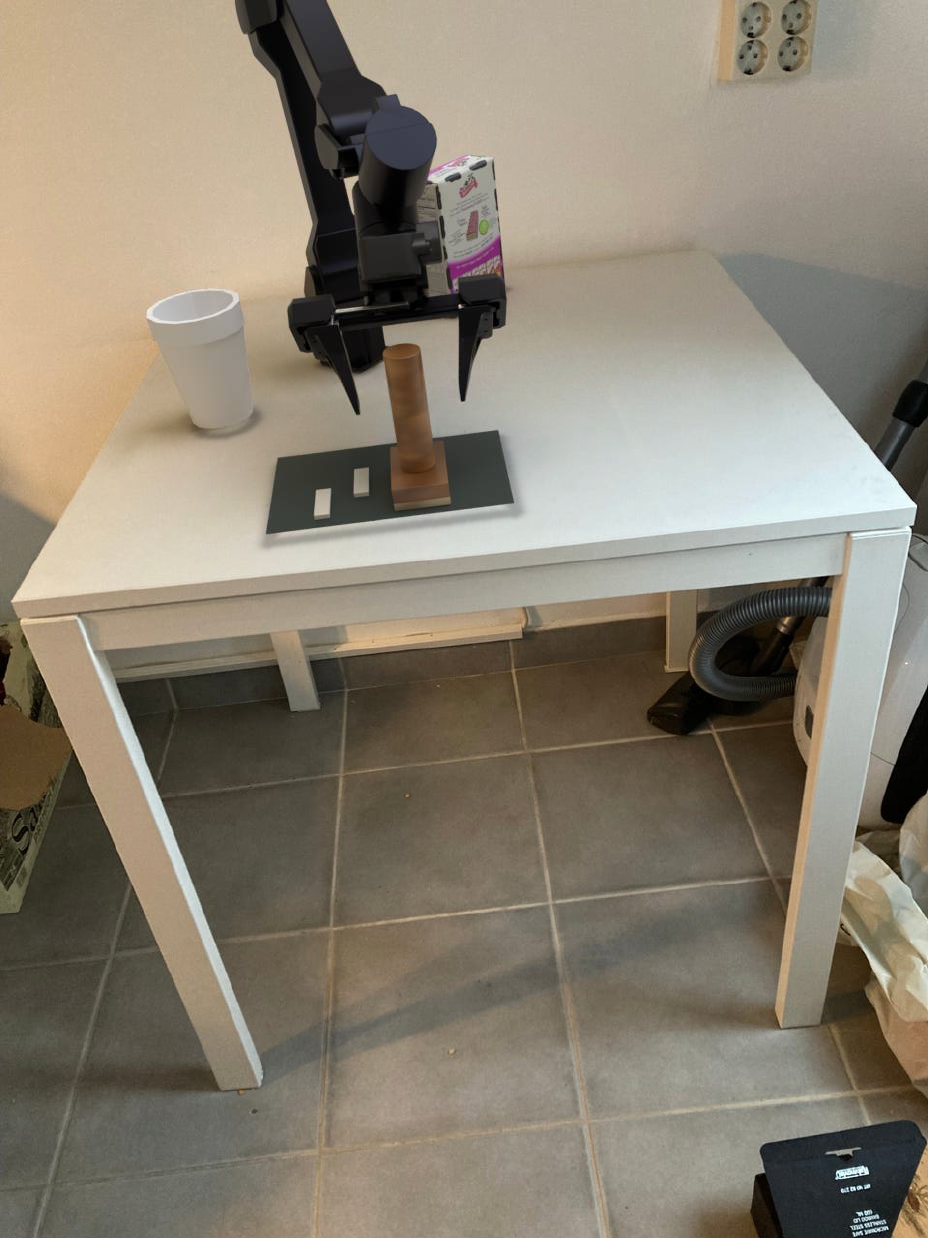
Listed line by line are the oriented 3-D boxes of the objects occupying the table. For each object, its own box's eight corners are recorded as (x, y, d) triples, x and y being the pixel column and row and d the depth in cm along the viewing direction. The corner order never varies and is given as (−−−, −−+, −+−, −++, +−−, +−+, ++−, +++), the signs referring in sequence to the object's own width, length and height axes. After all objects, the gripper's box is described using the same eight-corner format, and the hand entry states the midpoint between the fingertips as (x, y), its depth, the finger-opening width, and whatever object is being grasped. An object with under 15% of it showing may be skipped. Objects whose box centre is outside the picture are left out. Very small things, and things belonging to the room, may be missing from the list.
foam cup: (194, 452, 102) (157, 331, 94) (172, 419, 109) (136, 304, 101) (280, 424, 105) (251, 305, 97) (253, 395, 112) (224, 281, 104)
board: (267, 543, 87) (265, 534, 86) (279, 466, 98) (277, 457, 97) (515, 512, 87) (514, 502, 86) (498, 438, 98) (498, 429, 97)
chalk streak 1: (314, 520, 87) (313, 515, 87) (316, 494, 91) (315, 489, 90) (330, 518, 87) (329, 513, 87) (332, 492, 91) (331, 487, 90)
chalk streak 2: (354, 498, 90) (353, 493, 89) (354, 473, 93) (354, 468, 93) (369, 496, 90) (368, 491, 89) (369, 471, 93) (368, 467, 93)
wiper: (395, 511, 87) (371, 374, 79) (393, 467, 93) (371, 335, 85) (451, 504, 87) (433, 366, 79) (445, 460, 93) (429, 328, 85)
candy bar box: (477, 283, 133) (464, 153, 123) (506, 289, 130) (496, 156, 120) (423, 313, 126) (406, 177, 116) (453, 319, 124) (438, 181, 114)
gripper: (265, 201, 79) (284, 386, 77) (495, 172, 79) (520, 356, 77) (291, 268, 90) (309, 431, 88) (493, 242, 90) (516, 405, 88)
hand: (410, 406), depth 85 cm, fingers open, 9 cm apart
